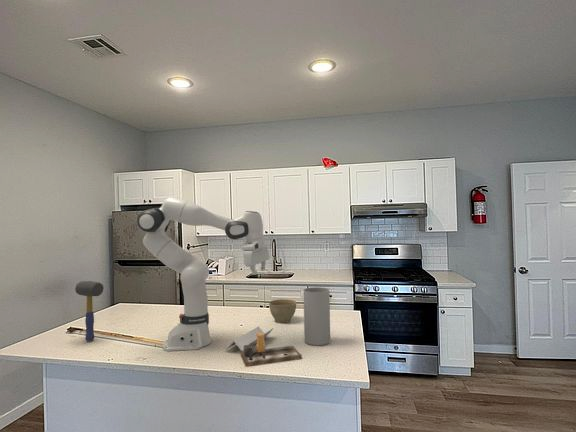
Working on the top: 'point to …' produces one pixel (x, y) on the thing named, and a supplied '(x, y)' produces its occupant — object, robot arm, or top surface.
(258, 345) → the sliding jaw
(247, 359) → the gauge board
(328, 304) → the cylinder vase
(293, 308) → the planter bowl
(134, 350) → the top surface
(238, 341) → the z bracket
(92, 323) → the rubber mallet
